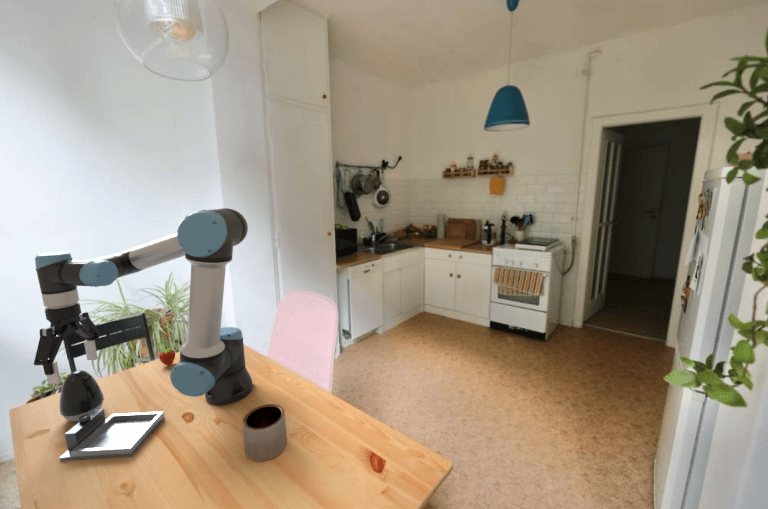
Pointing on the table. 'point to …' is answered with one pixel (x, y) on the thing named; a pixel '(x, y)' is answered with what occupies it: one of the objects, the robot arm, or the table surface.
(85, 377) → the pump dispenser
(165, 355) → the fruit
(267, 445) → the planter
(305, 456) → the table surface
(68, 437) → the tray unit
